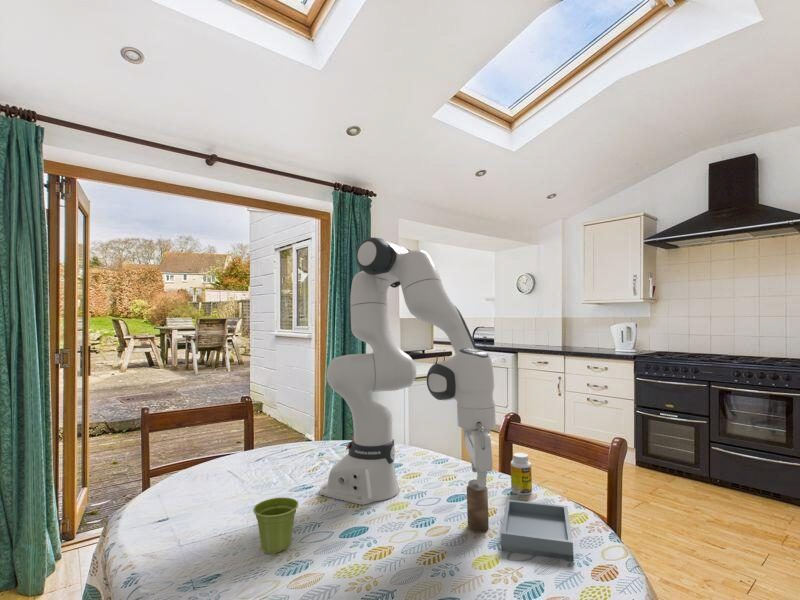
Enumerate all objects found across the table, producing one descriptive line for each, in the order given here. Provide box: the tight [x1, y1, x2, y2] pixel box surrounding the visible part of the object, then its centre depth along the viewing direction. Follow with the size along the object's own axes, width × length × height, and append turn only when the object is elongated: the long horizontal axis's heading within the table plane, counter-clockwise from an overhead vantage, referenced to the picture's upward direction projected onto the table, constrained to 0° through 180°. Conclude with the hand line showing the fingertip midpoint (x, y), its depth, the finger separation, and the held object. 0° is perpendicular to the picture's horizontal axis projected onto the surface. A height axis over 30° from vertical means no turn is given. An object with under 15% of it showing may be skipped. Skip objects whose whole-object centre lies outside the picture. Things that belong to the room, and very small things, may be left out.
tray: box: [500, 499, 574, 561], centre depth 95 cm, size 14×17×4 cm
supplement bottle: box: [510, 452, 533, 496], centre depth 118 cm, size 6×6×10 cm
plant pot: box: [253, 497, 299, 554], centre depth 93 cm, size 9×9×9 cm
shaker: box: [466, 479, 490, 534], centre depth 99 cm, size 5×5×10 cm
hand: (478, 478), depth 99 cm, fingers open, 8 cm apart
